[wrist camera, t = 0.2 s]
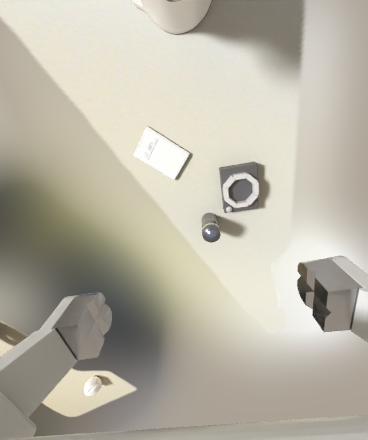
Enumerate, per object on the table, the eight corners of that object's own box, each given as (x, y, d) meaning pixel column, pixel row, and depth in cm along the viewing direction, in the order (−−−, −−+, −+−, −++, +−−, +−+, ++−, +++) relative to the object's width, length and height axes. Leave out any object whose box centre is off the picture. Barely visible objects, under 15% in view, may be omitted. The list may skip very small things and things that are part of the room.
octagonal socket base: (219, 167, 52) (221, 171, 48) (253, 161, 51) (258, 164, 47) (223, 208, 57) (225, 215, 53) (255, 204, 56) (259, 210, 52)
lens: (200, 213, 59) (201, 228, 50) (216, 211, 58) (219, 225, 50) (202, 228, 60) (203, 243, 52) (218, 225, 60) (221, 241, 52)
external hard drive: (174, 179, 55) (134, 155, 53) (190, 152, 52) (148, 126, 50) (174, 180, 53) (133, 155, 51) (189, 153, 50) (146, 126, 48)
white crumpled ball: (102, 382, 103) (96, 401, 96) (88, 379, 102) (80, 398, 95) (104, 374, 99) (97, 393, 92) (89, 371, 99) (81, 390, 92)
